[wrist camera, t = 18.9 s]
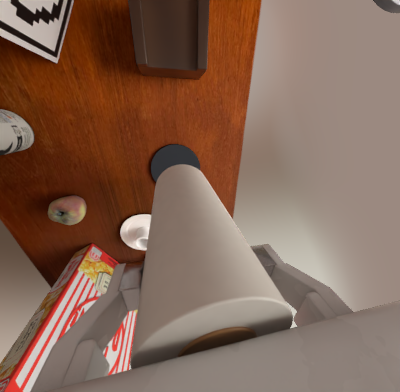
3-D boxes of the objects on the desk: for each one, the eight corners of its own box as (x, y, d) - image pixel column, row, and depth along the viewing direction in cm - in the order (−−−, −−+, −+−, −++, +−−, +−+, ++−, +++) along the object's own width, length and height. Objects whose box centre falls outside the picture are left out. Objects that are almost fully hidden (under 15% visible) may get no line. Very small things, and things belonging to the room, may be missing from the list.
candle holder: (120, 211, 38) (114, 222, 34) (170, 213, 41) (170, 223, 37) (121, 248, 43) (117, 261, 39) (166, 247, 46) (166, 259, 42)
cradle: (199, 18, 25) (210, -14, 19) (198, 79, 29) (207, 69, 23) (134, 9, 23) (123, -30, 17) (142, 75, 27) (135, 63, 21)
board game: (143, 279, 50) (122, 427, 26) (126, 288, 50) (91, 441, 27) (92, 241, 40) (-15, 423, 16) (72, 253, 40) (-60, 446, 17)
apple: (102, 210, 37) (92, 226, 31) (65, 216, 36) (49, 233, 30) (92, 187, 34) (79, 200, 29) (52, 193, 33) (30, 208, 28)
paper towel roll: (143, 401, 7) (107, 330, 4) (158, 213, 20) (152, 164, 17) (273, 363, 8) (320, 286, 5) (206, 209, 21) (208, 163, 18)
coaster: (200, 144, 34) (200, 144, 33) (199, 189, 39) (199, 190, 38) (148, 144, 32) (147, 144, 31) (154, 192, 37) (153, 193, 36)
